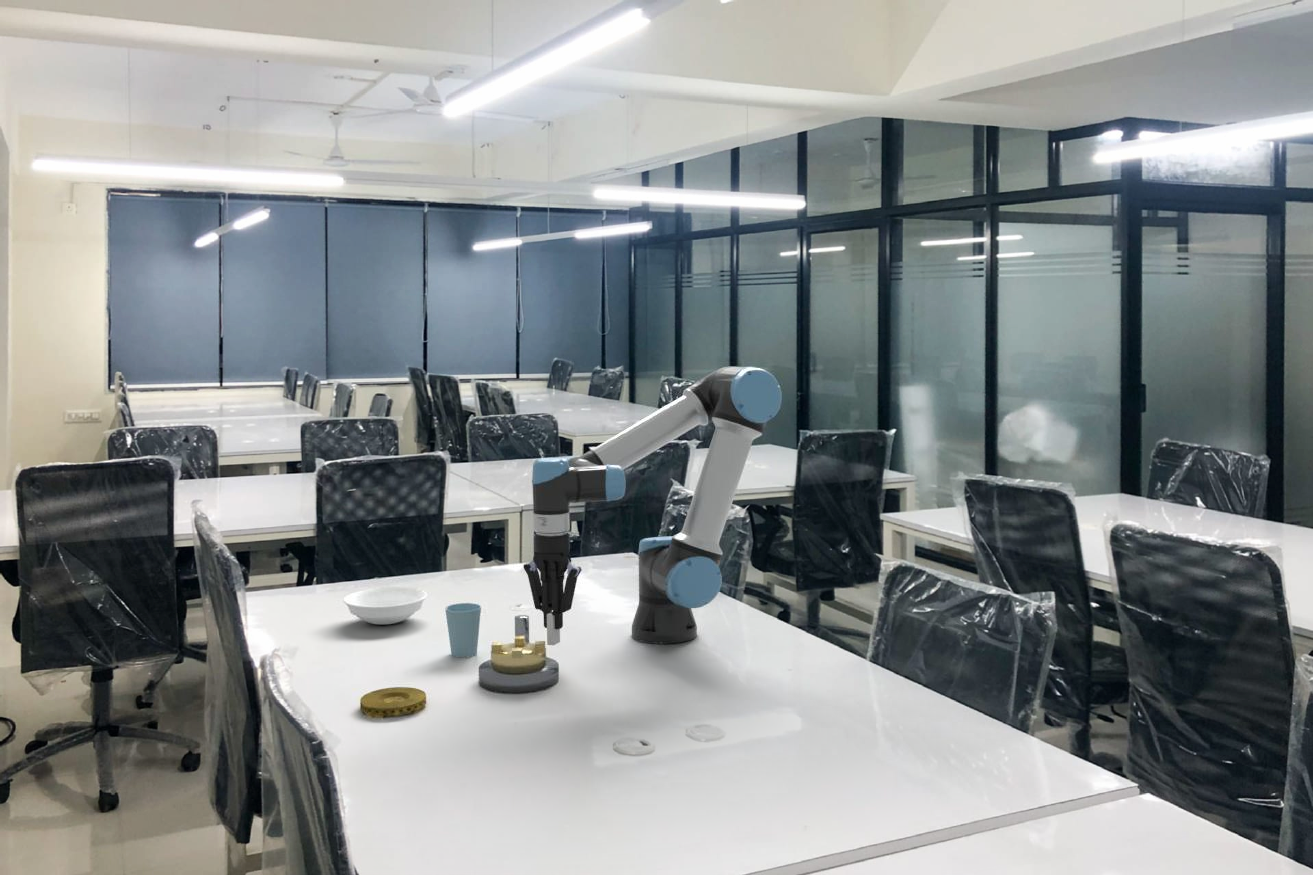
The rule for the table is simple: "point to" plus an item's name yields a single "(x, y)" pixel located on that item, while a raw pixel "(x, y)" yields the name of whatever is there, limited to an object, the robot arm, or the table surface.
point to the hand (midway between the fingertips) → (553, 643)
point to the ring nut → (519, 651)
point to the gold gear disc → (393, 702)
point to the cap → (518, 679)
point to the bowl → (385, 604)
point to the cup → (463, 628)
